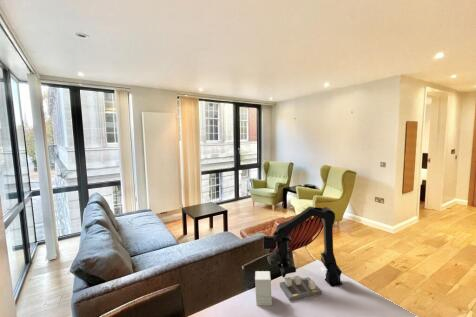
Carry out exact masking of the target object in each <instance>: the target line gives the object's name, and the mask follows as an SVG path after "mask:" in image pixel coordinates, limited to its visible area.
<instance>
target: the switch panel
mask: <svg viewBox="0 0 476 317" xmlns="http://www.w3.org/2000/svg"><path fill="white" fill-rule="evenodd" d="M300 278H301V277H300ZM291 280H292V286H289V287H287V286H286V284H285V281H281V282H279V283H278V284H279V288H280V289H281V291H282V292H283V293H284V295H285V297H286V298H287V300H288V301H289V302H291V301H298V300H302V299H303V300H304V299H307V298H311V297H317V296H321V295H323V291H322V289H321V288H320V287H319V286H318V285H317V284H316V283H315V289H313V290H311V289H310V288H309V285H308V281H310V280H312V279H311V277H309V276H308V277H303V278H301V284H299V285H296V284H295V283H294V279H291Z"/></svg>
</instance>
